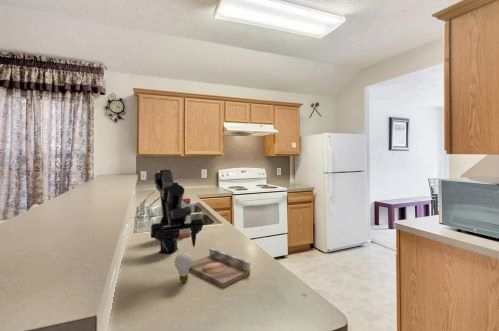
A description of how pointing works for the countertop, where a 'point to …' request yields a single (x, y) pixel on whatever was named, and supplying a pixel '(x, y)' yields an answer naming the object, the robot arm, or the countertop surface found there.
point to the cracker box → (188, 219)
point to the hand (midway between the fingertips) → (181, 248)
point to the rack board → (221, 268)
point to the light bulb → (183, 265)
